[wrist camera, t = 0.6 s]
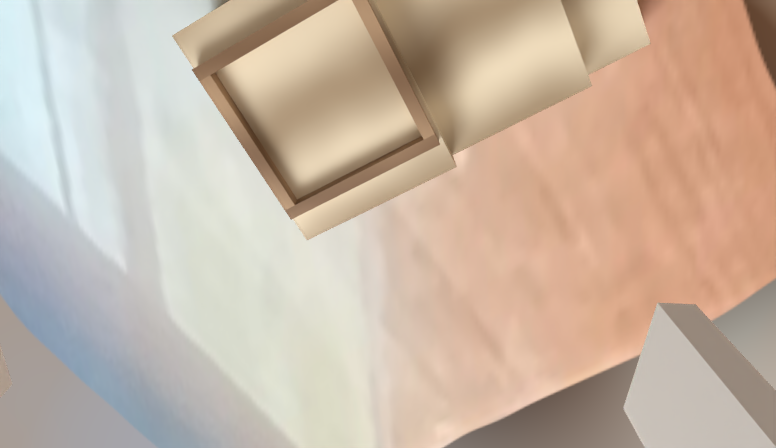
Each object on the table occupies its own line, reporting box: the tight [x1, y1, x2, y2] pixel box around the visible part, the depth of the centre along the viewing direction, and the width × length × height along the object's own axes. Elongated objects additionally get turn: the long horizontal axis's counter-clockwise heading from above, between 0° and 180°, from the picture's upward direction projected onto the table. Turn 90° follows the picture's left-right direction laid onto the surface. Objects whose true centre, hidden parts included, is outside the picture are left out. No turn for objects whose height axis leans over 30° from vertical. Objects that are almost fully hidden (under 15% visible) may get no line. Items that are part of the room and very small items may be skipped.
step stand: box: [173, 0, 650, 240], centre depth 28 cm, size 12×21×7 cm, turn 118°
